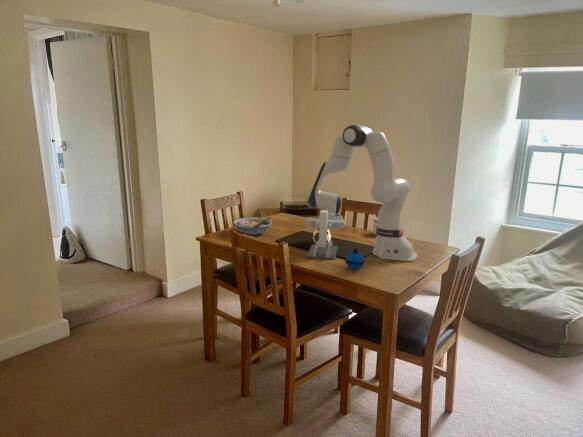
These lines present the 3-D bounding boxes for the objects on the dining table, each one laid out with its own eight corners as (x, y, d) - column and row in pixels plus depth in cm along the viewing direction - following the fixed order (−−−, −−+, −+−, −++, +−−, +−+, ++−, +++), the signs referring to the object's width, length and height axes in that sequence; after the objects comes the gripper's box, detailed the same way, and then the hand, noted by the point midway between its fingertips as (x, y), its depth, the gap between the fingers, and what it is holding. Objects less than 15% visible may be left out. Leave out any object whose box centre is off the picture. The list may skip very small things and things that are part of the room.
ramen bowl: (243, 226, 274) (243, 214, 272) (278, 230, 267) (278, 217, 265) (226, 237, 251) (225, 223, 249) (262, 241, 244) (263, 227, 242)
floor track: (312, 246, 237) (312, 240, 236) (337, 247, 235) (338, 241, 234) (306, 257, 218) (306, 251, 217) (334, 259, 216) (335, 253, 215)
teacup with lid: (381, 236, 258) (382, 217, 255) (369, 233, 264) (370, 214, 261) (393, 233, 265) (395, 214, 263) (381, 230, 272) (382, 211, 269)
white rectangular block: (319, 243, 228) (321, 210, 224) (326, 244, 228) (328, 210, 223) (318, 246, 224) (320, 212, 219) (325, 246, 223) (327, 212, 219)
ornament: (352, 264, 209) (353, 245, 207) (367, 269, 204) (368, 249, 201) (341, 269, 203) (342, 248, 201) (356, 274, 197) (357, 253, 195)
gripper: (307, 213, 237) (303, 219, 224) (345, 215, 234) (343, 222, 220) (307, 224, 239) (303, 231, 225) (344, 227, 235) (342, 234, 222)
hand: (323, 226), depth 223 cm, fingers closed on white rectangular block, 3 cm apart
